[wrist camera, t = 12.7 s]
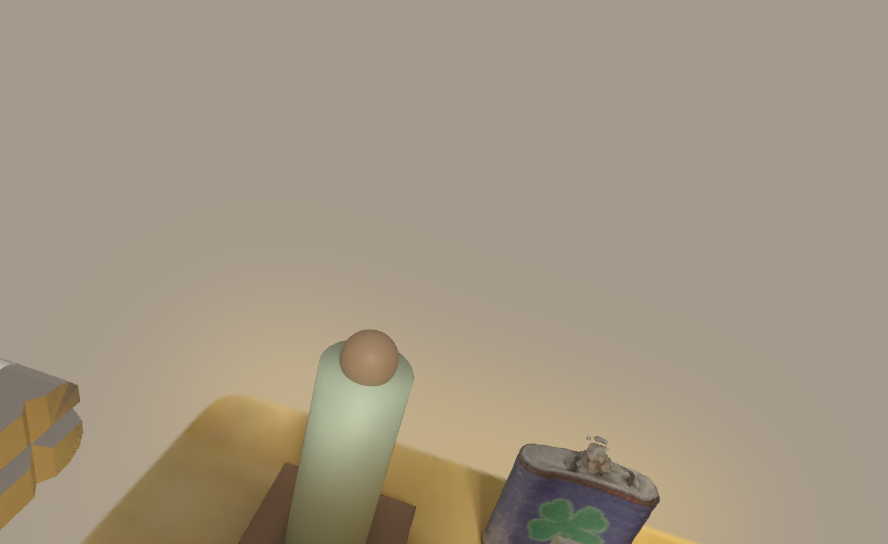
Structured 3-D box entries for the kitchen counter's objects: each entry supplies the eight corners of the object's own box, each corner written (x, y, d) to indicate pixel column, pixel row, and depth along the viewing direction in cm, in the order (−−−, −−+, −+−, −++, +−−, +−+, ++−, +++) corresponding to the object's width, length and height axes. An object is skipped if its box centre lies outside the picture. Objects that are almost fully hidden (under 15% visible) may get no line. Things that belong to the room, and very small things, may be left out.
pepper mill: (373, 522, 37) (431, 325, 30) (349, 590, 32) (411, 379, 26) (303, 499, 37) (344, 297, 30) (271, 563, 33) (310, 346, 26)
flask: (478, 557, 40) (529, 442, 35) (481, 521, 42) (529, 410, 38) (610, 595, 40) (679, 485, 35) (605, 557, 43) (668, 450, 38)
